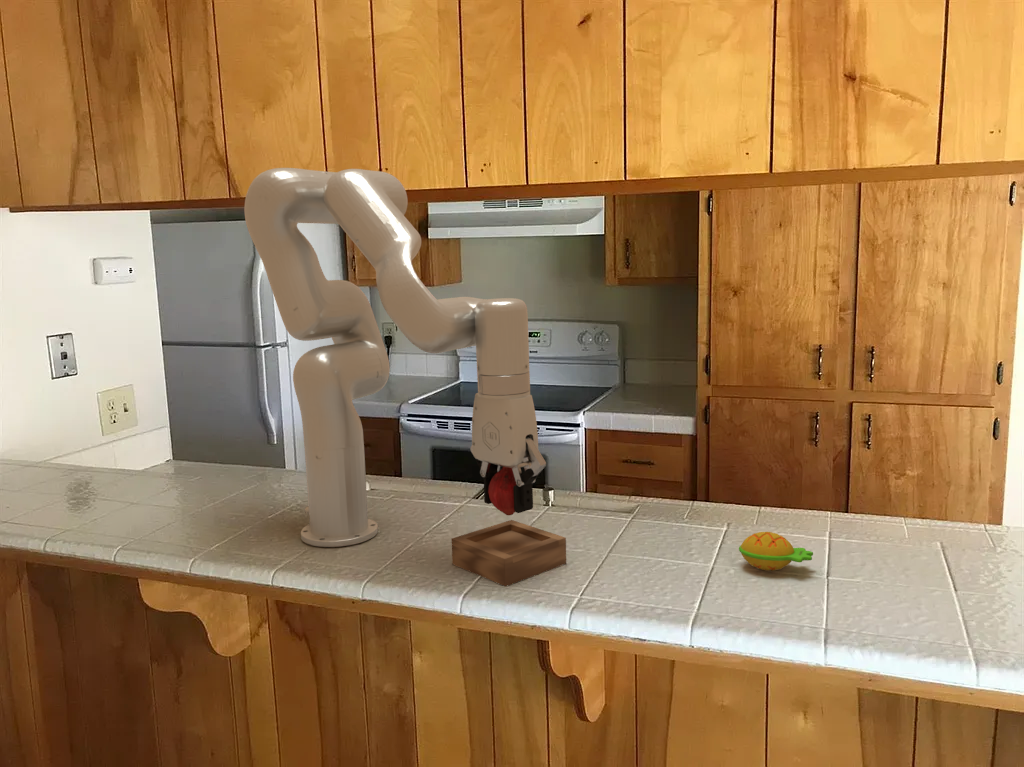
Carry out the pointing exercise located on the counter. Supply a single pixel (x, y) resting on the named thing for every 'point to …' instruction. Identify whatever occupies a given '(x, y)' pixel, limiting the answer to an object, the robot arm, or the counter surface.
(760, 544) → the toy pineapple
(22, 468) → the counter surface
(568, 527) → the counter surface
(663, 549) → the counter surface
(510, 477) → the onion
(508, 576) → the base
